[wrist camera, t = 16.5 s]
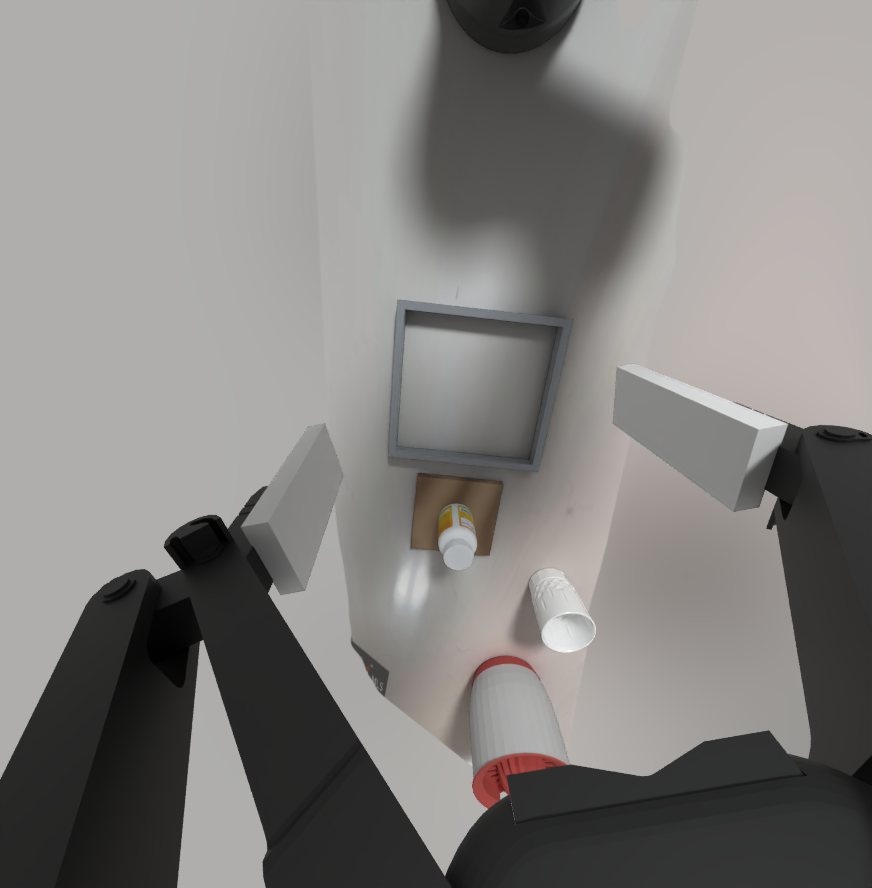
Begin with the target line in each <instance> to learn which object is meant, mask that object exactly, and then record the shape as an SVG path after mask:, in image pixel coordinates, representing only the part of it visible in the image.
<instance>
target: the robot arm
mask: <svg viewBox="0 0 872 888" xmlns="http://www.w3.org/2000/svg"><path fill="white" fill-rule="evenodd" d="M447 1H448V3H449V6H450V8H451V10H452V12H453V14H454V16H455V17H456V19H457V21H458V22H459V24H460V25H461V26H462V28H463V29H464V30H465V31H466V32H467V33H468V34H469V35H470V36H471V37H472V38H473V39H474V40H475V41H477V42H478V43H480V44H481V45H483V46H485V47H487V48H489V49H491V50H494V51H498V52H503V53H518V52H523V51H527V50H530V49H533V48H535V47H537V46H539V45H541V44H542V43H544V42H546V41H547V40H548V39H550V38H551V37H552V36H553V35H555V34H556V33H557V32H558V31H559V30H560V29H561V28H562V27H563V26H564V24H565V23H566V22H567V21H568V19H569V18H570V17H571V15H572V14H573V12H574V11H575V9H576V7H577V6H578V4H579V2H580V0H447ZM613 424H614V425H615V426H617V427H618V428H620V429H621V430H622V431H624V432H625V433H626V434H628V435H629V436H630V437H632V438H633V439H635V440H636V441H637V442H639V443H640V444H641V445H643V446H644V447H646V448H647V449H649V450H650V451H651V452H652V453H654V454H655V455H656V456H658V457H659V458H661V459H662V460H663V461H665V462H666V463H667V464H669V465H670V466H671V467H673V468H674V469H676V470H677V471H678V472H680V473H681V474H683V475H684V476H685V477H687V478H688V479H689V480H691V481H692V482H693V483H695V484H696V485H698V486H699V487H700V488H702V489H703V490H704V491H706V492H707V493H708V494H710V495H711V496H712V497H714V498H715V499H717V500H718V501H720V502H721V503H722V504H724V505H725V506H726V507H728V508H729V509H730V510H732V511H733V512H736V511H740V510H746V509H752V508H757V507H759V506H760V503H761V500H762V497H763V495H764V492H765V490H767V491H769V492H770V493H772V494H774V495H775V496H777V497H778V498H777V501H776V504H775V506H774V509H773V511H772V514H771V517H770V519H769V522H768V525H767V529H772V527H773V525H777V531H778V537H779V543H780V549H781V556H782V562H783V568H784V574H785V580H786V586H787V591H788V598H789V604H790V610H791V616H792V622H793V628H794V635H795V641H796V647H797V653H798V659H799V665H800V670H801V677H802V683H803V689H804V695H805V702H806V707H807V713H808V720H809V726H810V732H811V748H810V754H809V759H806V758H802V757H798V756H795V755H791V754H787V753H786V751H785V750H784V749H783V748H782V746H781V745H780V744H779V742H778V741H777V740H776V739H775V737H774V736H773V735H772V734H771V732H770V731H763V732H757V733H751V734H746V735H740V736H734V737H728V738H722V739H716V740H711V741H705V742H703V743H701V744H700V745H698V746H696V747H695V748H693V749H692V750H690V751H689V752H687V753H685V754H684V755H683V756H681V757H679V758H678V759H676V760H675V761H673V762H672V763H670V764H668V765H667V766H665V767H664V768H662V769H661V770H659V771H658V772H656V773H654V774H652V775H650V776H636V775H630V774H624V773H618V772H611V771H606V770H600V769H594V768H587V767H582V766H576V765H564V766H558V767H552V768H546V769H540V770H534V771H529V772H523V773H517V774H511V775H506V776H507V781H508V787H509V792H510V794H509V795H507V796H506V797H504V798H502V799H501V800H499V801H498V802H496V803H495V804H494V805H493V806H491V807H490V808H489V809H488V810H487V811H486V812H485V813H483V814H482V816H481V817H480V818H479V819H478V820H477V822H476V823H475V824H474V825H473V826H472V827H471V829H470V830H469V832H468V833H467V835H466V836H465V838H464V840H463V841H462V843H461V844H460V846H459V847H458V849H457V851H456V853H455V855H454V858H453V860H452V862H451V864H450V866H449V868H448V870H447V873H446V876H444V874H443V873H442V871H441V869H440V868H439V866H438V865H437V863H436V862H435V860H434V858H433V857H432V855H431V853H430V852H429V850H428V849H427V847H426V845H425V844H424V842H423V841H422V839H421V837H420V836H419V834H418V833H417V831H416V829H415V828H414V826H413V825H412V823H411V822H410V820H409V818H408V817H407V815H406V814H405V812H404V811H403V809H402V807H401V806H400V804H399V802H398V801H397V799H396V798H395V796H394V794H393V793H392V791H391V790H390V788H389V786H388V785H387V783H386V782H385V780H384V778H383V777H382V775H381V774H380V772H379V770H378V769H377V767H376V766H375V764H374V763H373V761H372V759H371V758H370V756H369V754H368V753H367V751H366V750H365V748H364V747H363V745H362V743H361V742H360V741H359V739H358V737H357V736H356V734H355V732H354V731H353V729H352V728H351V726H350V724H349V723H348V721H347V720H346V718H345V716H344V715H343V713H342V712H341V710H340V708H339V707H338V705H337V703H336V702H335V700H334V699H333V697H332V695H331V694H330V692H329V691H328V689H327V688H326V686H325V684H324V683H323V681H322V680H321V678H320V676H319V675H318V673H317V671H316V670H315V668H314V667H313V665H312V664H311V662H310V661H309V659H308V657H307V656H306V654H305V653H304V651H303V649H302V647H301V646H300V644H299V643H298V641H297V639H296V638H295V636H294V635H293V633H292V631H291V630H290V628H289V627H288V625H287V623H286V622H285V620H284V619H283V617H282V615H281V614H280V612H279V611H278V609H277V608H276V606H275V604H274V603H273V601H272V600H271V598H270V596H269V595H268V592H269V590H270V588H271V585H272V583H274V585H275V586H276V588H277V590H278V591H279V593H280V595H284V594H289V593H295V592H300V591H305V589H306V586H307V583H308V580H309V577H310V574H311V571H312V568H313V565H314V562H315V559H316V556H317V553H318V550H319V547H320V544H321V541H322V538H323V535H324V532H325V529H326V526H327V523H328V520H329V517H330V514H331V511H332V508H333V505H334V502H335V499H336V496H337V493H338V490H339V487H340V484H341V481H342V478H343V475H344V474H343V471H342V468H341V466H340V463H339V460H338V457H337V455H336V452H335V449H334V446H333V444H332V441H331V438H330V435H329V433H328V430H327V427H326V425H325V423H324V424H319V425H314V426H309V427H308V428H307V429H306V431H305V432H304V434H303V435H302V437H301V438H300V440H299V441H298V443H297V444H296V446H295V447H294V449H293V450H292V452H291V453H290V454H289V456H288V458H287V459H286V461H285V462H284V464H283V465H282V466H281V468H280V469H279V471H278V472H277V474H276V475H275V477H274V478H273V480H272V481H271V483H270V484H269V486H265V487H262V488H261V489H260V490H258V491H257V492H256V493H255V494H254V495H253V496H251V498H250V499H249V501H248V502H247V503H246V505H245V508H243V509H242V510H241V511H240V513H239V516H237V517H236V519H235V520H234V521H233V523H232V524H231V525H230V527H229V528H228V529H227V527H226V526H225V524H224V522H223V521H222V519H221V518H220V517H219V516H217V515H207V516H203V517H200V518H197V519H195V520H193V521H190V522H188V523H186V524H185V525H183V526H181V527H180V528H178V529H177V530H176V531H174V532H173V533H172V534H171V535H170V536H169V537H168V539H167V540H166V541H165V544H164V548H165V549H166V551H167V552H168V553H169V555H170V556H171V557H172V558H173V560H174V561H175V563H176V564H177V565H178V566H179V568H180V569H181V570H180V571H177V572H175V573H172V574H170V575H167V576H165V577H162V578H160V579H157V580H156V579H155V578H154V577H153V576H152V574H151V573H150V572H149V571H147V570H145V569H141V570H135V571H132V572H129V573H126V574H124V575H122V576H120V577H117V578H115V579H113V580H111V581H110V583H107V584H105V585H104V586H103V587H102V588H101V589H100V590H99V591H98V592H97V593H96V594H94V595H93V596H92V598H91V599H90V601H89V602H88V603H87V605H86V606H85V609H84V610H83V613H82V615H81V617H80V619H79V621H78V623H77V625H76V627H75V629H74V631H73V633H72V635H71V637H70V639H69V641H68V643H67V645H66V647H65V649H64V652H63V653H62V655H61V657H60V659H59V661H58V663H57V665H56V667H55V670H54V672H53V674H52V676H51V678H50V680H49V682H48V684H47V686H46V688H45V690H44V692H43V694H42V696H41V698H40V700H39V702H38V704H37V706H36V708H35V710H34V712H33V714H32V716H31V718H30V720H29V722H28V724H27V727H26V728H25V731H24V733H23V735H22V737H21V739H20V741H19V743H18V745H17V747H16V749H15V751H14V753H13V755H12V757H11V759H10V761H9V763H8V765H7V767H6V769H5V771H4V773H3V775H2V777H1V779H0V888H177V882H178V871H179V861H180V849H181V838H182V828H183V817H184V807H185V796H186V785H187V774H188V763H189V753H190V741H191V730H192V720H193V709H194V699H195V698H194V697H195V688H196V677H197V667H198V655H199V645H200V641H202V640H204V643H205V646H206V650H207V653H208V656H209V659H210V662H211V665H212V669H213V671H214V674H215V678H216V681H217V684H218V687H219V690H220V693H221V697H222V700H223V703H224V706H225V710H226V712H227V716H228V719H229V722H230V725H231V728H232V731H233V735H234V738H235V741H236V744H237V747H238V751H239V754H240V757H241V760H242V763H243V766H244V769H245V773H246V775H247V779H248V782H249V785H250V788H251V792H252V794H253V798H254V801H255V804H256V807H257V810H258V814H259V817H260V820H261V823H262V826H263V829H264V833H265V837H266V841H267V853H266V855H265V857H264V860H263V877H264V882H265V886H266V888H872V435H871V434H869V433H866V432H863V431H860V430H856V429H852V428H848V427H841V426H831V425H818V426H810V427H807V428H805V429H802V428H800V427H797V426H795V425H792V424H790V423H787V422H785V421H782V420H779V419H777V418H774V417H772V416H769V415H764V413H761V412H759V411H756V410H752V409H751V408H749V407H746V406H743V405H741V404H738V403H735V402H731V401H728V400H726V399H723V398H721V397H718V396H716V395H713V394H711V393H708V392H705V391H703V390H700V389H698V388H695V387H693V386H690V385H688V384H685V383H683V382H680V381H678V380H675V379H673V378H670V377H667V376H665V375H662V374H660V373H657V372H655V371H652V370H649V369H647V368H645V367H642V366H639V365H637V364H629V365H624V366H618V367H617V372H616V385H615V398H614V411H613ZM510 797H511V799H510ZM511 803H512V805H511ZM512 808H513V810H512ZM513 813H514V815H513ZM514 818H515V820H514Z"/></svg>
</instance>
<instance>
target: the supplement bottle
mask: <svg viewBox="0 0 872 888" xmlns="http://www.w3.org/2000/svg"><path fill="white" fill-rule="evenodd" d="M438 546H439V550H440V552H441V553H442V555H443V559H444V562H445V564H446V565H447V566H448V567H449V568H451V569H453V570H464V569H466V568H468V567H469V566H470V565H471V564H472V563H473V560H474V553H475V551H476V548H477V539H476V533H475V527H474V521H473V516H472V513H471V511H470V510H469V509H468V508H467V507H466V506H464V505H462V504H457V503H455V504H450V505H448V506H446V507H444V508H443V509H442V510H441V512H440V514H439V522H438Z"/></svg>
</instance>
